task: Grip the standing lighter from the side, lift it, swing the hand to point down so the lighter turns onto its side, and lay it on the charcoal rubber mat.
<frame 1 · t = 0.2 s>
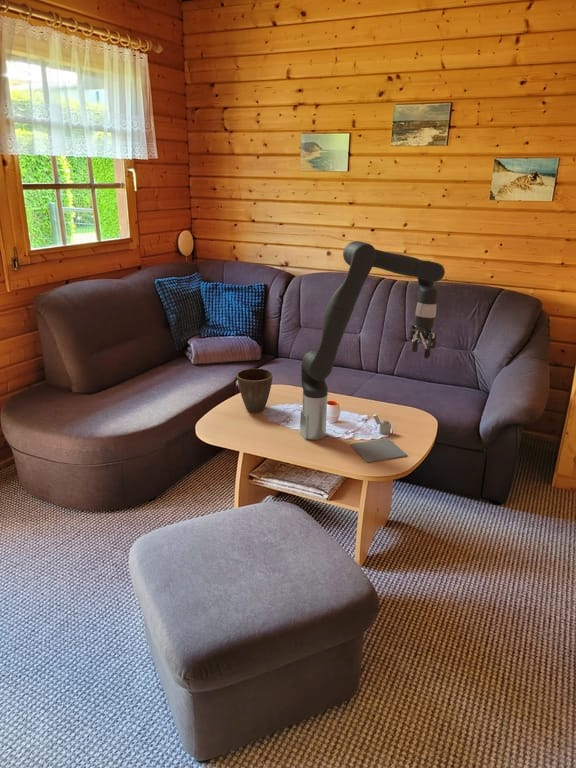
hand: (420, 354, 219), 28 cm above the table, tool pointing down, fingers open, 8 cm apart
lighter: (380, 433, 218), on the table
plant pot: (255, 409, 237), on the table
mat: (378, 450, 204), on the table
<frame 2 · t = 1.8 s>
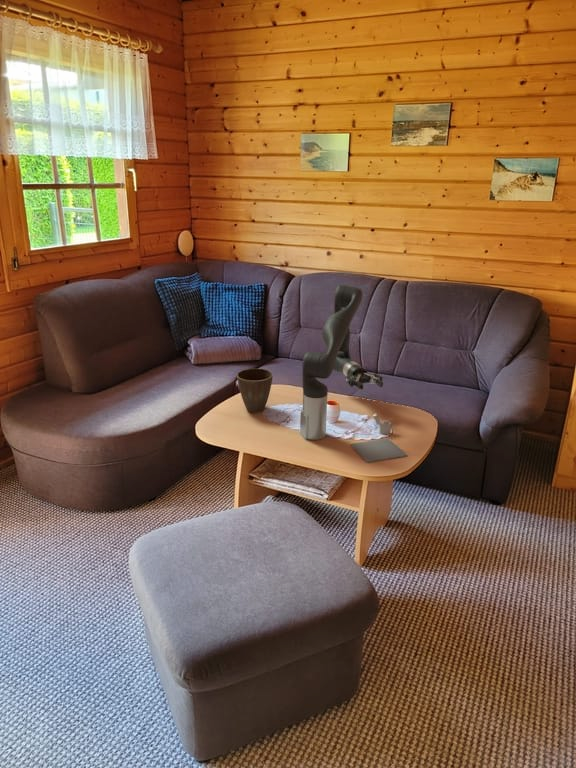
hand: (372, 386, 221), 16 cm above the table, tool horizontal, fingers open, 8 cm apart
nothing on the table moved.
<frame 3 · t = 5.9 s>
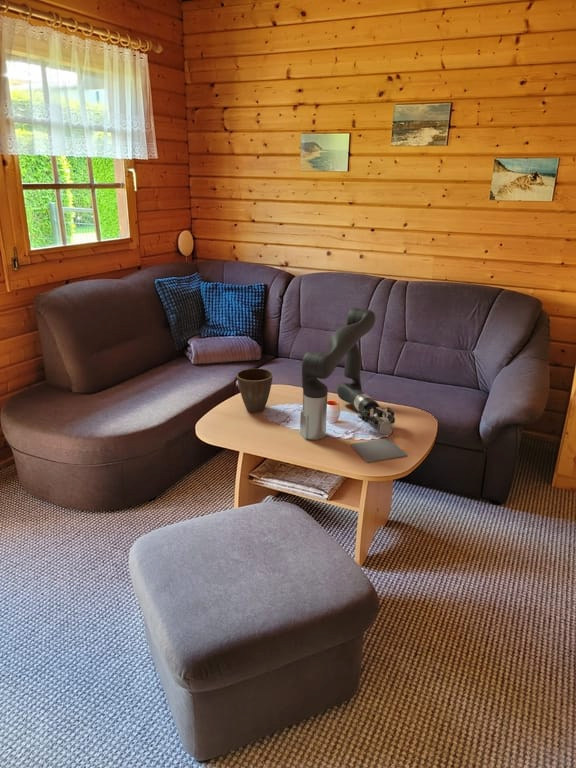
hand: (385, 422, 212), 6 cm above the table, tool horizontal, fingers closed on lighter, 6 cm apart
lighter: (381, 433, 218), on the table, touching gripper
everything else where it was.
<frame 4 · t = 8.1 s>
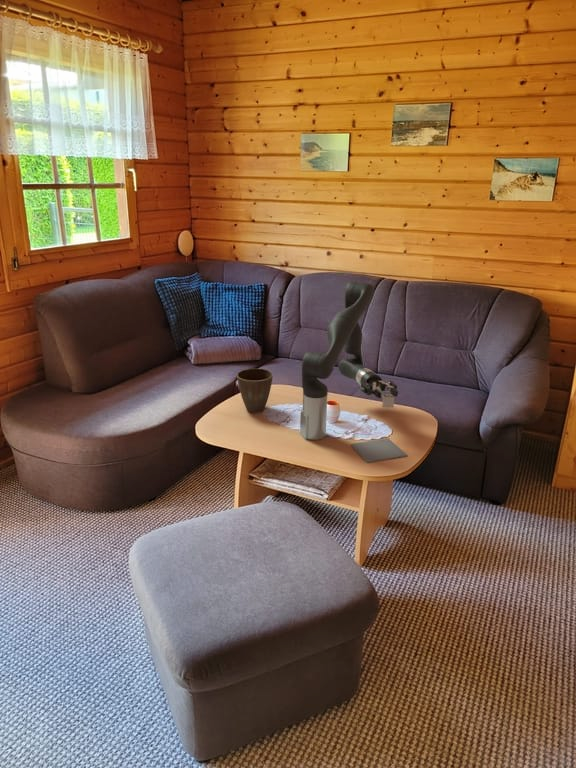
hand: (388, 395, 208), 17 cm above the table, tool horizontal, fingers closed on lighter, 6 cm apart
lighter: (383, 406, 214), point 11 cm above the table, touching gripper
everything else where it was.
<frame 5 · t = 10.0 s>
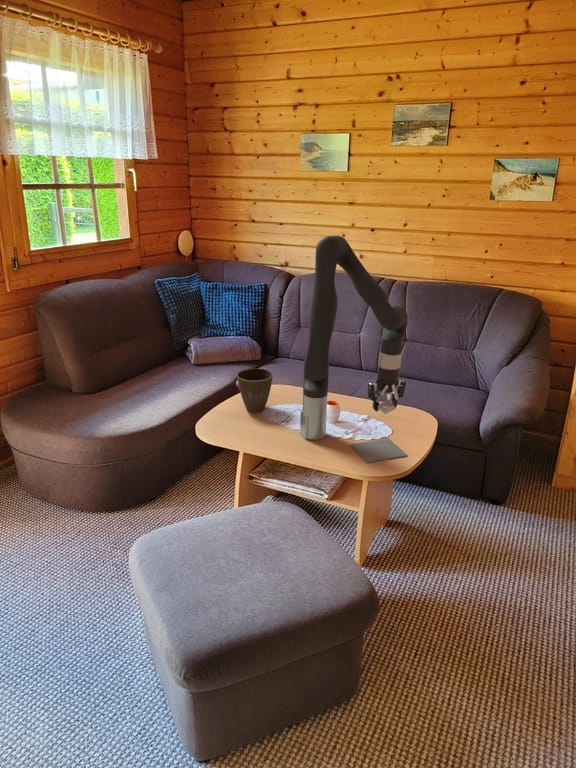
hand: (384, 409, 196), 17 cm above the table, tool pointing down, fingers closed on lighter, 6 cm apart
lighter: (393, 408, 190), point 20 cm above the table, touching gripper
everything else where it was.
when the fingers open (3 cm above the table, at t = 13.0 s): lighter drops 4 cm, resting on mat.
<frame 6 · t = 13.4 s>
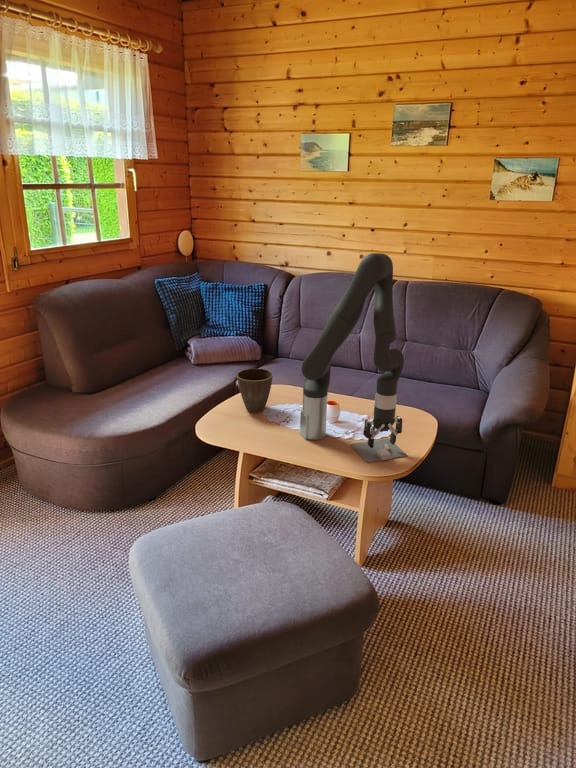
hand: (381, 445, 201), 3 cm above the table, tool pointing down, fingers open, 8 cm apart
lighter: (390, 456, 197), point 1 cm above the table, touching mat
everything else where it was.
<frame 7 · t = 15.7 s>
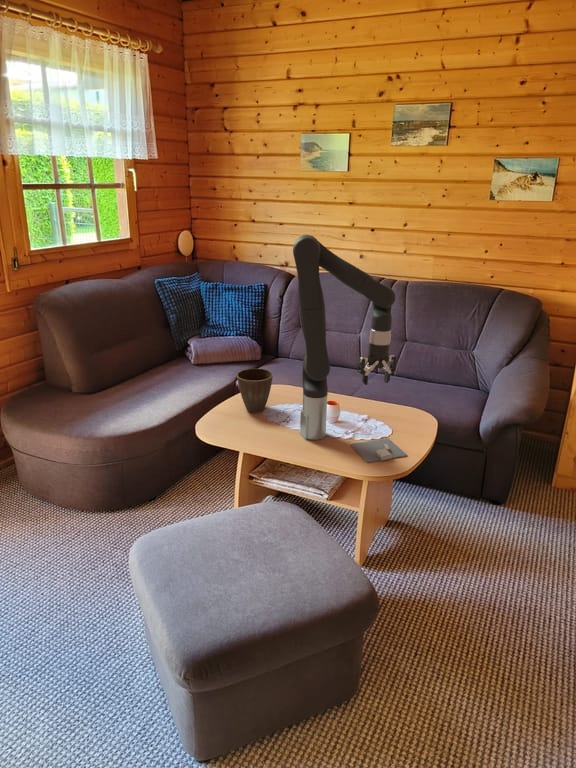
hand: (375, 383, 205), 23 cm above the table, tool pointing down, fingers open, 8 cm apart
nothing on the table moved.
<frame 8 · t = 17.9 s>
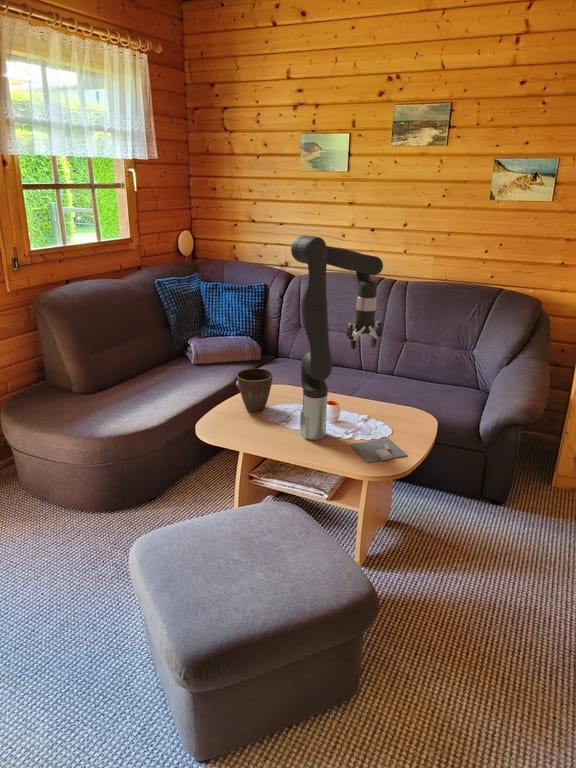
hand: (363, 348, 220), 30 cm above the table, tool pointing down, fingers open, 8 cm apart
nothing on the table moved.
at the end: lighter tilted 90°; lighter 7.8 cm from the mat (horizontally); lighter touching mat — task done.
